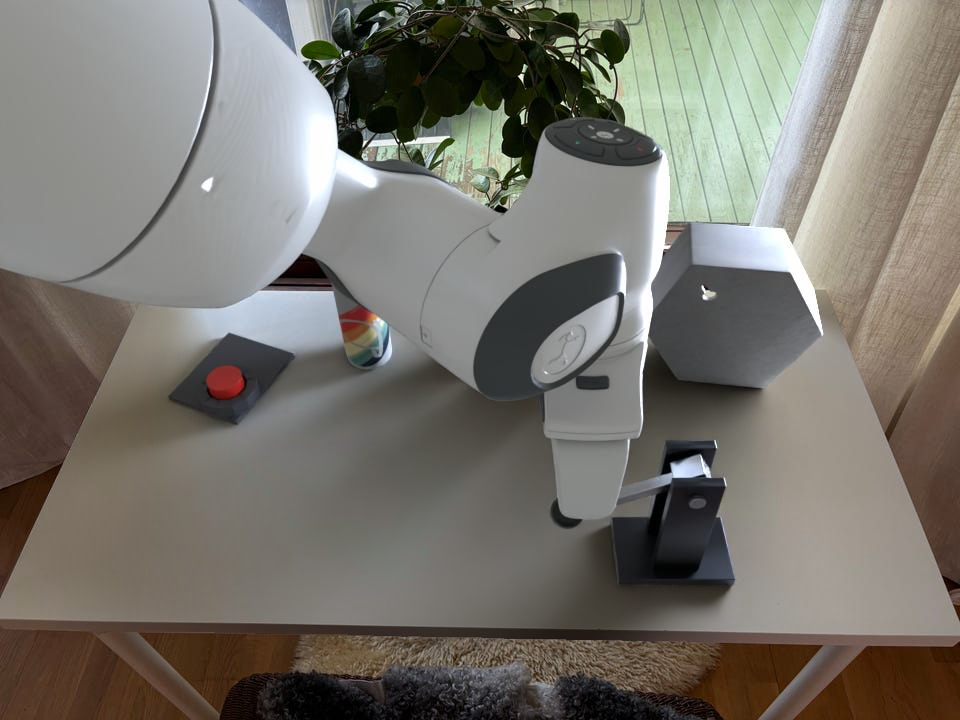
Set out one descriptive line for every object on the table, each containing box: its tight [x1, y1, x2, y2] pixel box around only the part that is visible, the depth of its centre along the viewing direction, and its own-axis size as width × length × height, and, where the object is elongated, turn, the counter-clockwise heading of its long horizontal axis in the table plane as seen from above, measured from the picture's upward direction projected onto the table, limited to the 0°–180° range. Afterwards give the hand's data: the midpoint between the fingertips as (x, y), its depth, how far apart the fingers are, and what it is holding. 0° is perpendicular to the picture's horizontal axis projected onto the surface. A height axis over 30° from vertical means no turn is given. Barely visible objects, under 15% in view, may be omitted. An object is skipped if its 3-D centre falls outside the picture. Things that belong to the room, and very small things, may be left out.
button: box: [206, 365, 245, 400], centre depth 92 cm, size 4×4×2 cm
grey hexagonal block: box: [648, 221, 824, 389], centre depth 90 cm, size 17×8×21 cm
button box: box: [167, 332, 296, 425], centre depth 95 cm, size 12×10×2 cm
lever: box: [549, 454, 712, 530], centre depth 71 cm, size 15×3×3 cm, turn 89°
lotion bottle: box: [331, 283, 393, 370], centre depth 91 cm, size 6×6×20 cm
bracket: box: [610, 439, 736, 587], centre depth 73 cm, size 11×7×15 cm, turn 89°
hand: (572, 454), depth 66 cm, fingers closed
